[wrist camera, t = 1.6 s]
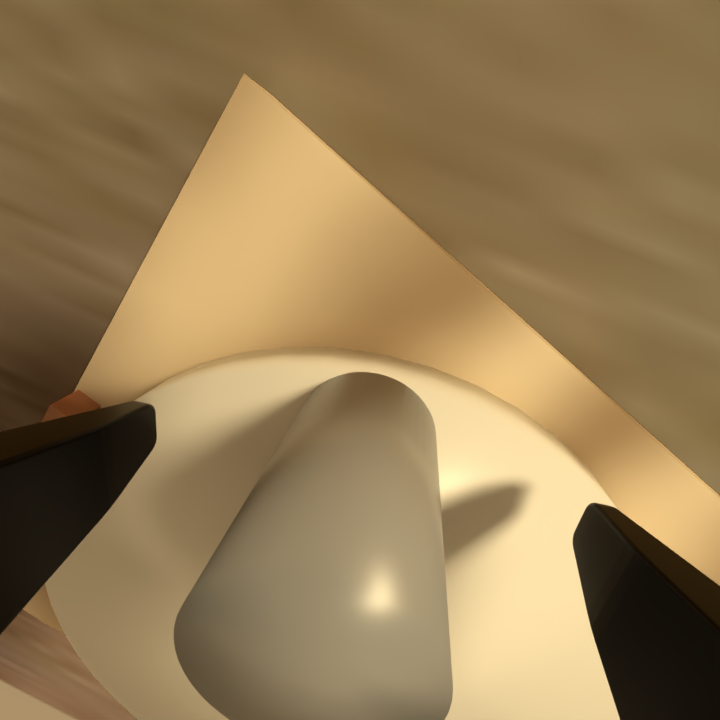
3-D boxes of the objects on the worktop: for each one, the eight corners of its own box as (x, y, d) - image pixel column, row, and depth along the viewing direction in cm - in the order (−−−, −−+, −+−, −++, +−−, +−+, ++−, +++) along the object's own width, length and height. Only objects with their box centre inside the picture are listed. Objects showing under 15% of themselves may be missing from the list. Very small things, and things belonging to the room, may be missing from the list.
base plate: (823, 588, 12) (917, 676, 10) (377, 789, 20) (372, 863, 18) (269, 93, 10) (221, 55, 7) (9, 549, 18) (-54, 600, 15)
